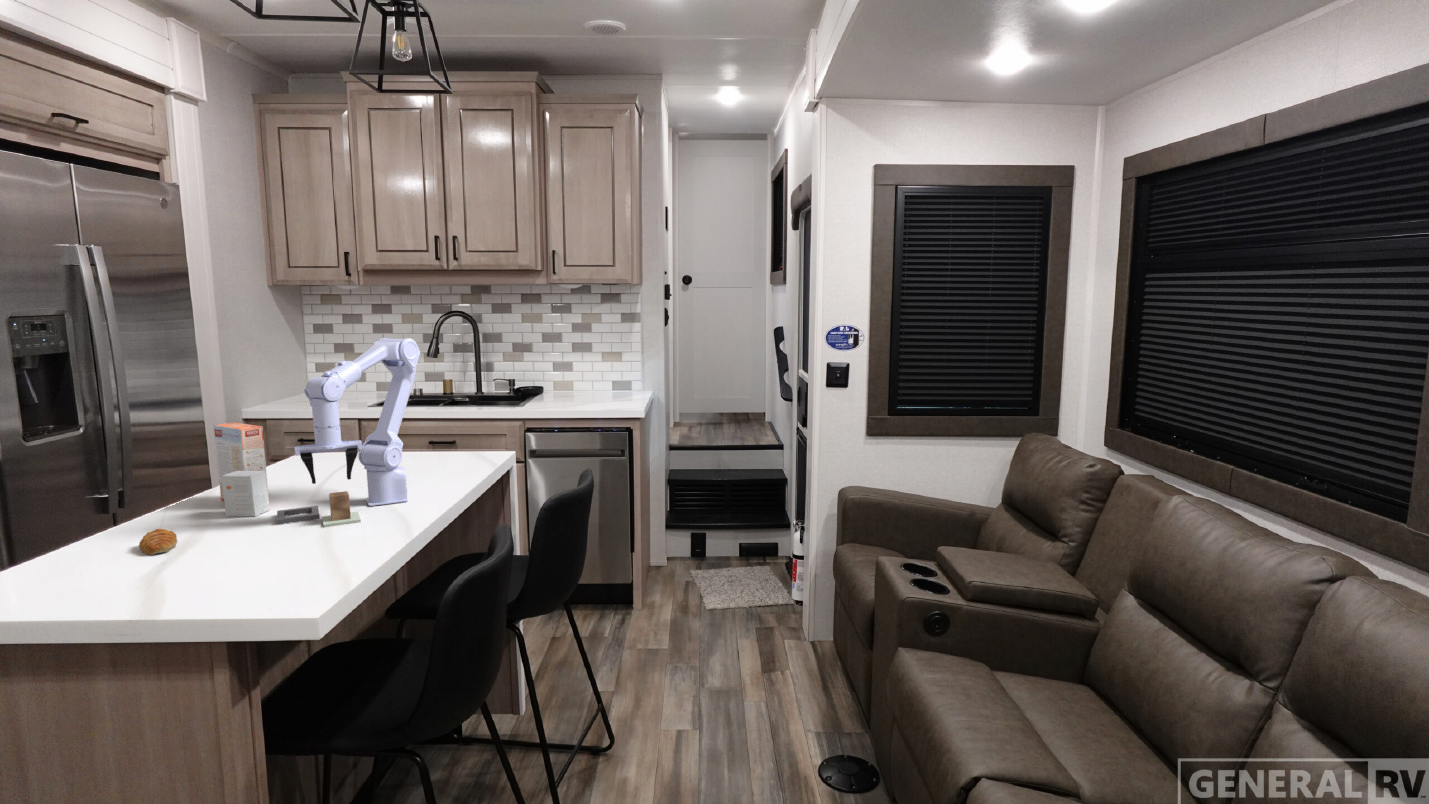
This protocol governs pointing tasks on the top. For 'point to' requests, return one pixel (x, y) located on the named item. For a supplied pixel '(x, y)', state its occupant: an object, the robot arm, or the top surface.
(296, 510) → the collar
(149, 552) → the pastry
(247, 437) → the cracker box
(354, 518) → the sage green board
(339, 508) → the walnut plug
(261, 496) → the small box
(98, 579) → the top surface
